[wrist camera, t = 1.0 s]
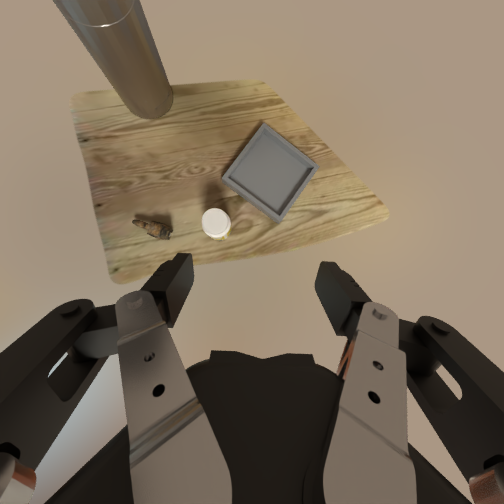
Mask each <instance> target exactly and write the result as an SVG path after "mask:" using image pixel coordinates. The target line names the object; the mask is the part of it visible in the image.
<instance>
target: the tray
mask: <svg viewBox="0 0 504 504" xmlns="http://www.w3.org/2000/svg"><path fill="white" fill-rule="evenodd" d="M319 167H320V166H318V165H317V164H316V163H315V162H313V161H312V160H311V159H309V158H308V157H307V156H306V155H304V154H303V153H302V152H301V151H299V150H298V149H297V148H295V147H294V146H293V145H292V144H290V143H289V142H288V141H287V140H285V139H284V138H283V137H281V136H280V135H279V134H278V133H276V132H275V131H274V130H273V129H271V128H270V127H269V126H267V125H266V124H265V123H263V124H262V126H261V127H260V128H259V130H258V131H257V132H256V133H255V135H254V136H253V137H252V139H251V140H250V141H249V143H248V144H247V145H246V147H245V148H244V149H243V151H242V152H241V153H240V155H239V156H238V157H237V158H236V160H235V161H234V162H233V164H232V165H231V166H230V168H229V169H228V170H227V172H226V173H225V174H224V176H223V177H222V183H224V184H225V185H226V186H228V187H229V188H230V189H232V190H233V191H235V192H236V193H237V194H239V195H240V196H241V197H243V198H244V199H245V200H247V201H248V202H249V203H251V204H252V205H253V206H255V207H256V208H257V209H259V210H260V211H262V212H263V213H264V214H266V215H267V216H268V217H270V218H271V219H272V220H274V221H275V222H276V223H280V222H281V221H282V219H283V218H284V216H285V215H286V214H287V212H288V211H289V209H290V208H291V206H292V205H293V204H294V202H295V201H296V199H297V198H298V197H299V195H300V194H301V192H302V191H303V189H304V188H305V187H306V185H307V184H308V182H309V181H310V179H311V178H312V177H313V175H314V174H315V172H316V171H317V170H318V168H319Z"/></svg>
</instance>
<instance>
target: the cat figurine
mask: <svg viewBox="0 0 504 504" xmlns="http://www.w3.org/2000/svg"><path fill="white" fill-rule="evenodd" d="M132 223H133V224H135V225H137V226H139V227H142V228H145V229H148V232H147V234H149V235H151V236H153V237H155V238H158V239H162V240H167V239H168V240H169V239H170V237H169V236H170V235H171V233H172V232H173V230H171V228H169V227H168V226H166V225H164V224H162V223H159V222H155V221H152V222H151V224H150V225H149V224H148V223H146V222H143V221H140V220H133V221H132Z"/></svg>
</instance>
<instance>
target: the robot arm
mask: <svg viewBox="0 0 504 504" xmlns="http://www.w3.org/2000/svg"><path fill="white" fill-rule="evenodd" d="M53 2H54V3H55V4H56V6H57V7H58V8H59V10H60V11H61V13H62V14H63V16H64V17H65V19H66V20H67V21H68V23H69V24H70V26H71V27H72V29H73V30H74V31H75V33H76V34H77V36H78V37H79V39H80V40H81V41H82V43H83V44H84V46H85V47H86V49H87V50H88V52H89V53H90V54H91V56H92V57H93V59H94V60H95V62H96V63H97V65H98V66H99V67H100V69H101V70H102V72H103V73H104V74H105V76H106V77H107V79H108V80H109V82H110V83H111V85H112V86H113V88H114V89H115V91H116V92H117V93H118V95H119V96H120V98H121V99H122V101H123V102H124V104H125V105H126V106H127V108H128V109H129V110H130V111H131V112H132V113H133V114H135V115H137V116H139V117H141V118H145V119H154V118H158V117H161V116H163V115H164V114H165V113H166V112H168V110H169V109H170V107H171V105H172V102H173V94H172V90H171V87H170V84H169V82H168V79H167V76H166V73H165V70H164V67H163V65H162V62H161V59H160V56H159V54H158V51H157V48H156V45H155V42H154V40H153V37H152V34H151V31H150V29H149V26H148V23H147V20H146V18H145V15H144V12H143V9H142V6H141V3H140V1H139V0H53ZM193 282H194V271H193V259H192V254H191V253H177V255H176V256H175V257H174V258H173V260H168V261H166V262H165V263H163V264H161V265H160V267H159V268H158V269H157V271H155V272H154V274H153V276H151V277H150V279H149V280H148V281H147V282H146V283H145V284H144V286H143V287H142V288H141V289H140V290H139V291H134V292H131V293H128V294H126V295H124V296H123V297H121V298H120V299H119V300H118V301H117V302H116V304H113V305H108V306H102V307H96V308H95V306H94V304H93V302H92V301H91V300H88V299H78V300H73V301H70V302H67V303H64V304H63V305H60V306H58V307H57V308H55V309H54V310H52V311H51V312H50V313H49V314H47V315H46V316H45V317H44V318H43V319H41V320H40V321H39V322H38V323H37V324H35V325H34V326H33V327H32V328H30V329H29V330H28V331H27V332H26V333H24V334H23V335H22V336H21V337H19V338H18V339H17V340H16V341H15V342H13V343H12V344H11V345H10V346H9V347H7V348H6V349H5V350H4V351H3V352H1V353H0V504H29V502H30V499H31V498H32V495H33V492H34V490H35V486H36V473H35V469H36V468H37V467H38V465H39V463H40V462H41V460H42V459H43V457H44V456H45V454H46V453H47V451H48V450H49V448H50V446H51V445H52V443H53V442H54V440H55V439H56V437H57V436H58V434H59V433H60V431H61V430H62V428H63V426H64V425H65V423H66V422H67V420H68V419H69V417H70V416H71V414H72V412H73V411H74V409H75V408H76V406H77V405H78V403H79V402H80V400H81V399H82V397H83V396H84V394H85V393H86V391H87V389H88V388H89V386H90V385H91V383H92V382H93V380H94V379H95V377H96V376H97V374H98V372H99V371H100V369H101V368H102V366H103V365H104V363H105V362H106V360H107V359H108V357H109V355H114V354H117V353H118V354H119V362H120V371H121V378H122V386H123V394H124V401H125V409H126V417H127V425H126V426H125V427H124V428H123V429H122V430H121V431H120V432H119V433H118V434H117V435H116V436H115V437H113V438H112V439H111V440H110V441H109V442H108V443H107V444H106V445H105V446H104V447H103V448H102V449H101V450H100V451H99V452H98V453H97V454H96V455H95V456H94V457H93V458H91V459H90V461H88V462H87V463H86V464H85V465H84V466H83V467H82V468H81V469H80V470H79V471H78V472H77V473H76V474H75V475H74V476H73V477H72V478H71V479H69V480H68V481H67V483H65V484H64V485H63V486H62V487H61V488H60V489H59V490H58V491H57V492H56V493H55V494H54V495H53V496H52V497H51V498H50V499H48V500H47V501H46V502H45V503H44V504H472V503H471V502H470V501H469V500H468V499H467V498H466V497H465V496H464V495H463V494H461V492H460V491H458V490H457V489H456V488H455V487H454V486H453V485H452V484H451V483H450V482H449V481H448V480H447V479H446V478H445V477H444V476H443V475H442V474H441V473H440V472H439V471H438V470H436V469H435V467H434V466H432V465H431V464H430V463H429V462H428V461H427V460H426V459H425V458H424V457H423V456H422V455H421V454H420V453H419V452H418V451H417V450H416V449H415V448H414V447H413V446H412V445H411V444H410V443H408V439H407V438H408V436H407V387H408V388H409V390H410V392H411V393H412V395H413V396H414V398H415V399H416V401H417V402H418V404H419V406H420V407H421V409H422V411H423V412H424V414H425V415H426V417H427V418H428V420H429V422H430V423H431V425H432V426H433V428H434V430H435V431H436V433H437V434H438V436H439V438H440V439H441V441H442V443H443V444H444V446H445V447H446V449H447V450H448V452H449V454H450V455H451V457H452V458H453V460H454V462H455V463H456V465H457V466H458V468H459V470H460V471H461V472H462V474H463V476H464V477H465V479H466V481H467V482H468V484H469V489H470V493H471V496H472V499H473V501H474V503H475V504H504V372H503V371H501V370H500V369H499V368H498V367H497V366H496V365H495V364H494V363H493V362H491V361H490V360H489V359H488V358H487V357H486V356H485V355H484V354H482V353H481V352H480V351H479V350H478V349H477V348H476V347H475V346H474V345H472V344H471V343H470V342H469V341H468V340H467V339H466V338H465V337H463V336H462V335H461V334H460V333H459V332H458V331H457V330H456V329H454V328H453V327H452V326H450V325H449V324H447V323H445V322H443V321H441V320H439V319H437V318H434V317H430V316H422V317H420V318H419V319H418V321H417V322H416V323H413V322H409V321H406V320H402V319H399V318H398V316H397V315H396V314H395V313H394V312H393V311H392V310H391V309H389V308H388V307H386V306H384V305H382V304H379V303H375V302H372V301H371V299H370V298H369V297H368V296H367V295H366V293H365V292H364V291H363V290H362V288H361V287H359V285H358V284H357V283H356V282H355V280H354V279H353V278H352V276H350V275H349V274H348V273H346V272H345V271H343V270H341V269H340V268H339V266H338V265H337V264H336V263H335V262H325V261H322V262H321V263H320V267H319V270H318V273H317V277H316V280H315V290H316V293H317V295H318V297H319V299H320V301H321V304H322V306H323V307H324V310H325V312H326V314H327V316H328V318H329V320H330V322H331V324H332V326H333V329H334V331H335V333H336V335H337V336H346V337H347V339H348V340H347V342H346V344H345V347H344V350H343V353H342V356H341V360H340V363H339V366H338V369H337V371H336V374H335V373H333V372H332V371H330V370H329V369H327V368H325V367H323V366H321V365H318V364H315V362H314V358H313V355H312V354H290V353H289V354H288V353H287V354H283V355H279V356H274V357H270V358H266V359H260V358H257V357H254V356H250V355H246V354H244V353H240V352H237V351H214V350H212V351H211V354H210V359H208V360H204V361H201V362H198V363H196V364H194V365H192V366H191V367H189V368H187V369H186V370H185V368H184V366H183V363H182V361H181V359H180V356H179V354H178V351H177V349H176V347H175V344H174V342H173V339H172V337H171V335H170V332H169V330H168V328H173V326H174V324H175V322H176V320H177V318H178V315H179V313H180V311H181V309H182V307H183V305H184V302H185V300H186V298H187V296H188V294H189V292H190V289H191V287H192V285H193ZM66 352H67V353H68V355H67V356H66V358H65V359H64V360H63V361H62V362H61V364H60V365H59V366H58V367H57V368H56V369H55V370H54V371H53V373H52V374H51V375H50V376H49V377H48V375H49V372H50V370H51V369H52V368H53V366H54V365H55V364H56V363H57V362H58V361H59V359H60V358H61V357H62V356H63V355H64V354H65V353H66ZM441 365H443V366H444V367H445V369H446V370H447V371H448V372H449V373H450V374H451V375H452V377H453V378H454V379H455V380H456V381H457V383H458V384H459V385H460V387H461V389H462V398H461V400H458V398H457V397H456V396H455V395H454V393H453V392H452V391H451V390H450V388H449V387H448V386H447V385H446V383H445V382H444V381H443V380H442V379H441V377H440V376H439V375H438V374H437V372H436V370H437V369H438V368H439V367H440V366H441Z"/></svg>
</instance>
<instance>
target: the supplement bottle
mask: <svg viewBox="0 0 504 504" xmlns="http://www.w3.org/2000/svg"><path fill="white" fill-rule="evenodd" d="M202 227H203V230H204V232H205V233H206V234H207V235H208V236H210V237H211V238H212V239H214V240H217V241H222V240H224V239H226V238H227V237H228V236H229V235H230V233H231V221H230V218H229V216H228V215H227V214H226V213H225V212H224V211H222V210H221V209H218V208H211V209H209V210H207V211H206V212H205V213H204V214H203V217H202Z"/></svg>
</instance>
